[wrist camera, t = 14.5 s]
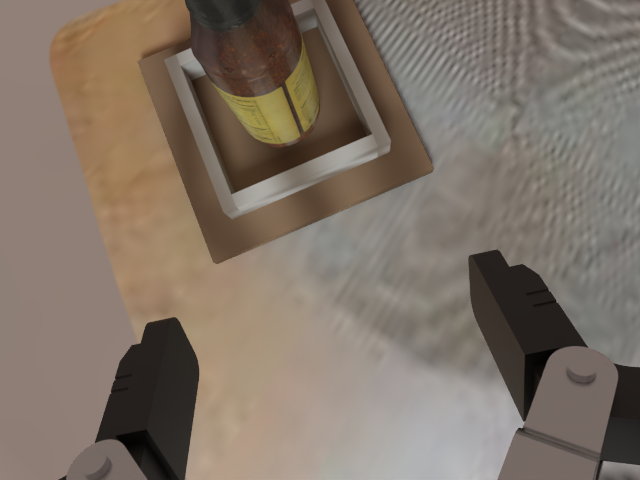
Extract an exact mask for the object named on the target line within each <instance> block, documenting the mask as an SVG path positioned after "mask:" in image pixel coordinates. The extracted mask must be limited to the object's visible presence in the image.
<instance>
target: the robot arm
mask: <svg viewBox="0 0 640 480" xmlns="http://www.w3.org/2000/svg"><path fill="white" fill-rule="evenodd" d="M468 261H469V279H470V296H471V304H472V308H473V312H474V315H475V318H476V321H477V323H478V325H479V327H480V330H481V332H482V334H483V336H484V338H485V340H486V342H487V345H488V347H489V349H490V351H491V353H492V355H493V357H494V360H495V362H496V364H497V366H498V368H499V370H500V373H501V375H502V377H503V379H504V381H505V383H506V385H507V388H508V390H509V392H510V394H511V396H512V398H513V400H514V403H515V405H516V407H517V409H518V411H519V413H520V416H521V418H522V420H523V422H524V421H525V424H524V426H523V428H522V429H521V428H518V429H517V431H516V433H515V435H514V437H513V440H512V442H511V445H510V448H509V450H508V453H507V456H506V458H505V461H504V464H503V466H502V469H501V472H500V474H499V477H498V480H599V478H600V474H601V470H602V465H603V461H610V462H618V463H627V464H635V465H640V367H628V366H622V365H618V364H614V363H613V362H612V361H611V360H610V359H609V358H608V357H606V356H605V355H604V354H602V353H600V352H598V351H596V350H594V349H590V348H588V346H587V345H586V344H585V342H584V341H583V339H582V338H581V336H580V335H579V333H578V332H577V330H576V329H575V327H574V326H573V325H572V323H571V322H570V320H569V319H568V317H567V316H566V314H565V313H564V311H563V310H562V308H561V307H560V305H559V304H558V303H557V302H556V299H555V298H554V296H553V295H552V293H551V292H549V290H548V288H547V286H546V285H545V283H544V282H543V280H542V279H541V277H540V276H539V275H538V274H537V273H535V272H534V271H532V270H531V269H529V268H528V267H526V266H525V265H523V264H521V265H516V266H511V267H509V266H508V264H507V262H506V261H505V259H504V257H503V256H502V254H501V253H500V251H499V250H492V251H488V252H483V253H478V254H474V255H470V256H469V260H468ZM115 379H116V380H115V381H114V383H113V386H112V389H111V394H110V396H109V399H108V402H107V405H106V409H105V412H104V415H103V418H102V421H101V425H100V428H99V432H98V434H97V438H96V441H95V444H93V445H91V446H89V447H88V448H86V449H85V450H84V451H83V452H81V453H80V454H79V455H78V456H77V458H76V459H75V460H74V461H73V463H72V464H71V466H70V468H69V470H68V473H67V475H66V476H65V477H63V478H61V479H59V480H185V473H186V466H187V459H188V452H189V445H190V438H191V431H192V424H193V417H194V410H195V403H196V396H197V389H198V382H199V365H198V360H197V357H196V354H195V352H194V350H193V348H192V346H191V344H190V342H189V340H188V338H187V336H186V334H185V332H184V330H183V328H182V326H181V324H180V322H179V320H178V319H177V318H175V317H173V318H168V319H164V320H159V321H154V322H149V323H147V325H146V327H145V330H144V333H143V337H142V341H141V344H136V345H132V346H131V347H130V349H129V350H128V351H127V353H126V354H125V355H124V357H123V358H122V359H121V361H120V363H119V367H118V370H117V373H116V376H115Z"/></svg>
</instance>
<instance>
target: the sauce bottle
mask: <svg viewBox="0 0 640 480" xmlns="http://www.w3.org/2000/svg"><path fill="white" fill-rule="evenodd" d="M185 3H186V6H187V8H188V10H189V11H190V21H191V42H190V45H191V50H192V52H193V55H194V57H195V58H196V59H197V61H198V62H199V63H200V64H201V66H202V68H203V70H204V71H205V73H206V75H207V77H208V78H209V80H210V81H211V82H212V84H213V85H214V87H215V88H216V89H217V91H218V92H219V94H220V95H221V96H222V98H223V99H224V100H225V102H226V103H227V105H228V106H229V107H230V109H231V110H232V111H233V112H234V114H235V115H236V117H237V118H238V120H239V121H240V122H241V124H242V125H243V126H244V128H245V129H246V130H247V132H248V133H249V134H250V135H252V136H253V137H254V138H255V139H258V140H260V141H261V142H263V143H265V144H268V145H271V146H272V147H285V146H290V145H292V144H295V143H298V142H299V141H301V140H303V139H305V138H307V136H308V135H309V134H310V133H311V132H312V131H313V129H314V127H315V125H316V122H317V119H318V116H319V112H320V104H319V94H318V90H317V86H316V83H315V79H314V76H313V73H312V69H311V66H310V63H309V59H308V56H307V52H306V48H305V45H304V41H303V38H302V34H301V31H300V28H299V25H298V23H297V21H296V19H295V18H294V14H293V10H292V7H291V5H290V3H289V1H288V0H185Z"/></svg>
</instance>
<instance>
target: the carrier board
mask: <svg viewBox="0 0 640 480" xmlns="http://www.w3.org/2000/svg"><path fill="white" fill-rule="evenodd" d="M288 1H289V3H290V5H291V7H292V10H293V14H294V18H295V19H296V21H297V23H298V25H299V28H300V31H301V34H302V38H303V41H304V45H305V48H306V52H307V56H308V59H309V63H310V66H311V69H312V73H313V76H314V79H315V83H316V86H317V90H318V94H319V104H320V112H319V116H318V119H317V122H316V125H315V127H314V129H313V131H312V132H311V133H310V134H309V135H308V136H307V138H305V139H303V140H301V141H299V142H298V143H295V144H292V145H290V146H285V147H272V146H271V145H268V144H265V143H263V142H261V141H260V140H258V139H255V138H254V137H253V136H252V135H250V134H249V133H248V132H247V130H246V129H245V128H244V126H243V125H242V124H241V122H240V121H239V120H238V118H237V117H236V115H235V114H234V112H233V111H232V110H231V109H230V107H229V106H228V105H227V103H226V102H225V100H224V99H223V98H222V96H221V95H220V94H219V92H218V91H217V89H216V88H215V87H214V85H213V84H212V82H211V81H210V80H209V78H208V77H207V75H206V73H205V71H204V70H203V68H202V66H201V64H200V63H199V62H198V61H197V59H196V58H195V57H194V55H193V52H192V50H191V45H190V42H191V38H190V39H188V40H186V41H183V42H181V43H179V44H176V45H174V46H172V47H170V48H167V49H165V50H163V51H160V52H158V53H156V54H153V55H151V56H149V57H146V58H144V59H142V60H140V61H138V64H139V67H140V69H141V72H142V75H143V77H144V80H145V83H146V85H147V88H148V91H149V93H150V96H151V99H152V101H153V104H154V106H155V109H156V112H157V114H158V117H159V120H160V122H161V125H162V128H163V130H164V133H165V136H166V138H167V141H168V144H169V146H170V149H171V151H172V154H173V157H174V159H175V162H176V165H177V167H178V170H179V173H180V175H181V178H182V181H183V183H184V186H185V189H186V191H187V194H188V197H189V199H190V202H191V204H192V207H193V210H194V212H195V215H196V218H197V220H198V223H199V226H200V228H201V231H202V234H203V236H204V239H205V242H206V244H207V247H208V249H209V252H210V255H211V257H212V260H213V262H214V263H216V264H218V263H221V262H223V261H225V260H228V259H230V258H232V257H235V256H237V255H239V254H242V253H244V252H246V251H249V250H251V249H253V248H256V247H258V246H260V245H263V244H265V243H268V242H270V241H272V240H275V239H277V238H279V237H282V236H284V235H286V234H289V233H291V232H293V231H296V230H298V229H300V228H303V227H305V226H307V225H310V224H312V223H314V222H317V221H319V220H321V219H324V218H326V217H328V216H331V215H333V214H335V213H338V212H340V211H343V210H345V209H347V208H350V207H352V206H354V205H357V204H359V203H361V202H364V201H366V200H368V199H371V198H373V197H375V196H378V195H380V194H382V193H385V192H387V191H389V190H392V189H394V188H396V187H399V186H401V185H403V184H406V183H408V182H411V181H413V180H415V179H418V178H420V177H422V176H425V175H427V174H429V173H432V172H433V169H434V167H433V165H432V163H431V161H430V159H429V157H428V155H427V153H426V151H425V149H424V147H423V145H422V142H421V140H420V138H419V136H418V134H417V132H416V130H415V128H414V126H413V124H412V122H411V120H410V118H409V115H408V113H407V111H406V109H405V107H404V105H403V103H402V101H401V99H400V97H399V95H398V93H397V91H396V88H395V86H394V84H393V82H392V80H391V78H390V76H389V74H388V72H387V70H386V68H385V66H384V64H383V61H382V59H381V57H380V55H379V53H378V51H377V49H376V47H375V45H374V43H373V41H372V39H371V36H370V34H369V32H368V30H367V28H366V26H365V24H364V22H363V20H362V18H361V16H360V14H359V12H358V9H357V7H356V5H355V3H354V1H353V0H288Z"/></svg>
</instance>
